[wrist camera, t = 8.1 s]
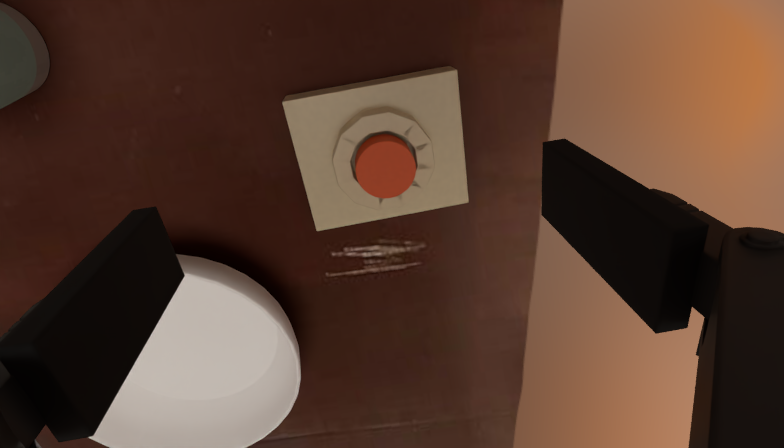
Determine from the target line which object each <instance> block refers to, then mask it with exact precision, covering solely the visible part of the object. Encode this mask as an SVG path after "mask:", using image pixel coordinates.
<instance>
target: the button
mask: <svg viewBox="0 0 784 448" xmlns="http://www.w3.org/2000/svg"><path fill="white" fill-rule="evenodd" d="M355 169H356V177H357V180H358V182H359V184H360V186H361V187H362V188H363V189H364V190H365V191H366V192H367V193H368V194H370V195H372V196H374V197H378V198H392V197H396V196H398V195H400V194H402V193H403V192H405V191H406V190H407V189H408V188H409V187H410V186H411V184H412V182H413V180H414V178H415V174H416V164H415V160H414V157H413V155H412V153H411V151H410V149H409V147H408V146H407V144H406V143H405V142H404V141H403V140H401V139H400V138H398V137H396V136H393V135H389V134H380V135H376V136H373V137H371V138H369V139H367V140H366V141H365V142H364V143H363V144H362V145H361V146H360V148H359V149H358V151H357V154H356V158H355Z"/></svg>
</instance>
